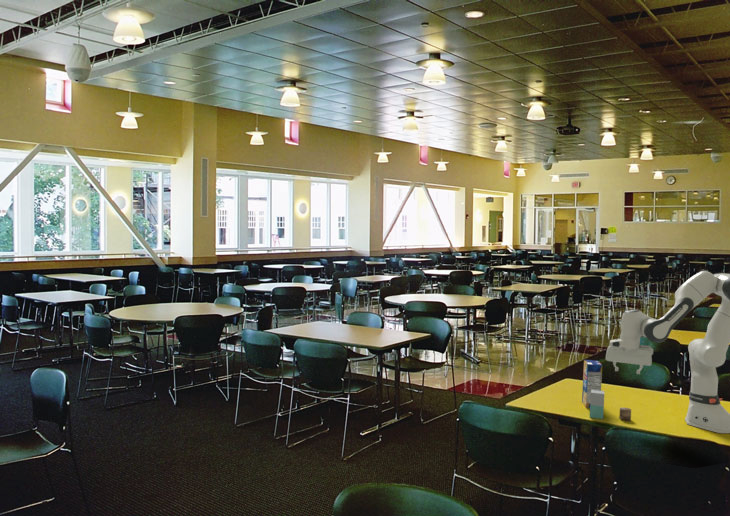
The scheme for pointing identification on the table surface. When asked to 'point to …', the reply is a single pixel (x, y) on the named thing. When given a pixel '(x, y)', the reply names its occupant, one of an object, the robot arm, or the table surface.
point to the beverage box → (591, 380)
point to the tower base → (596, 411)
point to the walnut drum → (625, 414)
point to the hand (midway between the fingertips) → (627, 372)
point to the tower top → (597, 398)
